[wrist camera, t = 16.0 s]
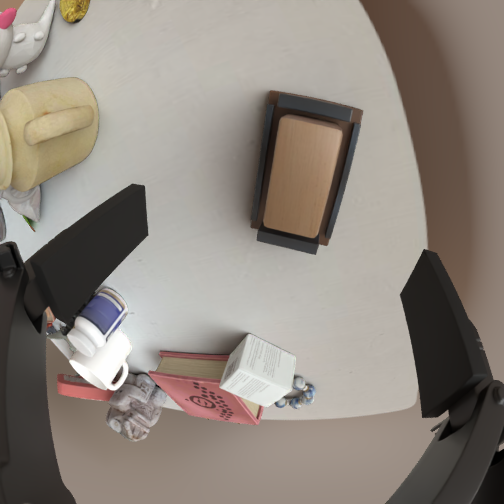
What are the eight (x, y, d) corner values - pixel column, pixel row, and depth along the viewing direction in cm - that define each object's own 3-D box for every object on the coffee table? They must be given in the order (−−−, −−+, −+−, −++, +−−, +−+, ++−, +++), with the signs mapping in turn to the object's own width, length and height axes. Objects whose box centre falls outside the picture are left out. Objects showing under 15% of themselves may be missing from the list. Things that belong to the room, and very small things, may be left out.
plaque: (57, 383, 52) (57, 396, 41) (57, 369, 53) (57, 380, 42) (115, 391, 63) (129, 404, 52) (116, 378, 64) (129, 390, 53)
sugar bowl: (99, 34, 17) (-29, 44, 5) (139, 110, 21) (-1, 158, 9) (36, 115, 23) (-56, 155, 11) (67, 179, 28) (-24, 240, 15)
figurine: (178, 395, 52) (152, 451, 40) (149, 394, 57) (125, 442, 45) (146, 369, 48) (113, 427, 36) (120, 369, 54) (90, 418, 41)
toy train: (85, 284, 38) (109, 301, 40) (64, 322, 50) (82, 334, 52) (75, 301, 35) (100, 319, 37) (57, 335, 47) (75, 347, 49)
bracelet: (327, 394, 38) (326, 404, 36) (280, 404, 43) (278, 413, 42) (291, 365, 36) (289, 377, 34) (243, 378, 41) (240, 388, 39)
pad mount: (327, 240, 24) (327, 259, 22) (252, 222, 25) (244, 239, 23) (361, 109, 17) (367, 111, 15) (272, 90, 18) (264, 89, 16)
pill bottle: (96, 283, 37) (58, 326, 29) (122, 290, 36) (83, 339, 28) (108, 310, 40) (75, 352, 32) (134, 318, 39) (101, 365, 31)
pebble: (47, 176, 28) (21, 191, 24) (50, 222, 33) (27, 239, 29) (19, 160, 28) (-4, 172, 24) (22, 203, 33) (2, 217, 28)
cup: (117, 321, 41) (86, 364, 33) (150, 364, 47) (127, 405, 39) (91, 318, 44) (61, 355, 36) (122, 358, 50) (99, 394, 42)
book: (199, 396, 49) (190, 416, 45) (160, 351, 42) (147, 373, 38) (265, 403, 44) (259, 426, 40) (236, 355, 37) (225, 384, 33)
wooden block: (317, 217, 22) (340, 123, 18) (316, 241, 19) (344, 129, 14) (271, 206, 23) (287, 111, 18) (261, 228, 19) (279, 115, 15)
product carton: (229, 354, 37) (273, 374, 37) (217, 388, 31) (266, 409, 32) (249, 331, 34) (297, 355, 34) (238, 368, 28) (293, 392, 29)
